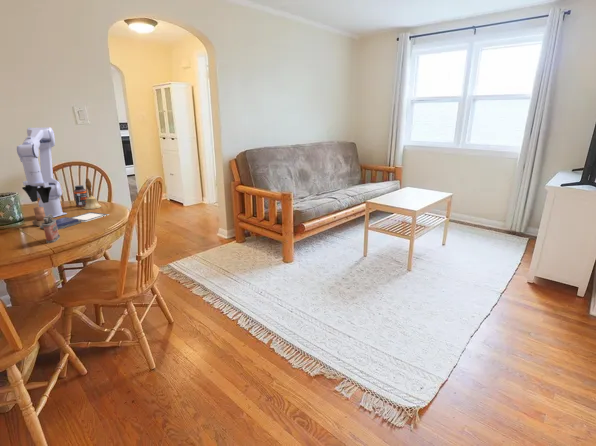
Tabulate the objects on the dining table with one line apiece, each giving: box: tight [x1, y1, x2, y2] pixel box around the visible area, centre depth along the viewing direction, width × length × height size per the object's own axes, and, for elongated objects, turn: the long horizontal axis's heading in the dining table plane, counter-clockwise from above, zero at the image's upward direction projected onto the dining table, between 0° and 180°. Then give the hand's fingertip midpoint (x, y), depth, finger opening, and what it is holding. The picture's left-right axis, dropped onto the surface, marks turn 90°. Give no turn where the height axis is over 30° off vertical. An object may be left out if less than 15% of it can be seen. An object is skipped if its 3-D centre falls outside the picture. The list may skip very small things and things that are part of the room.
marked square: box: [70, 211, 110, 223], centre depth 166 cm, size 13×13×1 cm
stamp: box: [31, 206, 45, 227], centre depth 154 cm, size 5×5×8 cm
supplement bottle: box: [73, 184, 89, 208], centre depth 186 cm, size 6×6×11 cm
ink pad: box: [39, 216, 82, 231], centre depth 153 cm, size 10×12×2 cm
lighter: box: [42, 214, 61, 244], centre depth 134 cm, size 8×3×10 cm, turn 17°
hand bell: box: [83, 178, 102, 210], centre depth 181 cm, size 8×8×16 cm
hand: (40, 202), depth 153 cm, fingers open, 7 cm apart
